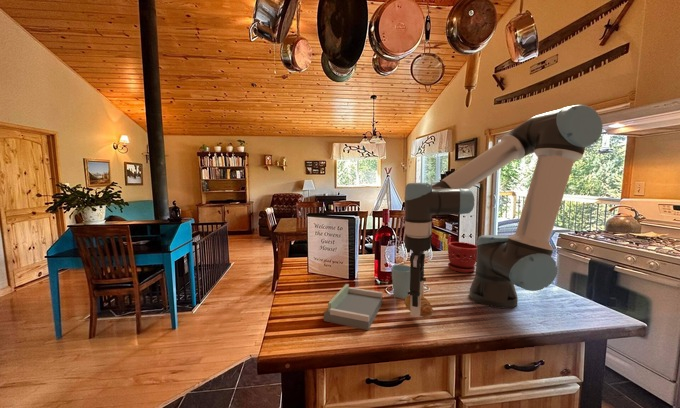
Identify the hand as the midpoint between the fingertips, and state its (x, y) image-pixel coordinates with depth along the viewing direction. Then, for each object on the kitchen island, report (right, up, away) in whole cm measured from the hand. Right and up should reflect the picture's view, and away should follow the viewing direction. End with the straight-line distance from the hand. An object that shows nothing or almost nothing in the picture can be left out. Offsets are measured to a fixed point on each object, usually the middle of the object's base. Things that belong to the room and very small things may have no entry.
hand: (417, 308), depth 85 cm
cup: (-1, -2, +19) cm, 19 cm away
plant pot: (+34, +1, +47) cm, 58 cm away
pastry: (+1, -1, 0) cm, 1 cm away
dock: (-18, -4, +6) cm, 20 cm away
